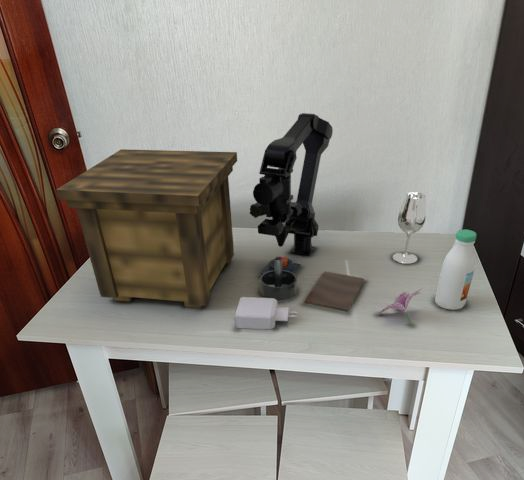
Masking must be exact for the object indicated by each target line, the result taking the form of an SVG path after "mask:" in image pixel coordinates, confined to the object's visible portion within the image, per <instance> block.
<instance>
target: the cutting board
mask: <svg viewBox="0 0 524 480" xmlns="http://www.w3.org/2000/svg"><path fill="white" fill-rule="evenodd" d="M365 280H366V279H365V278H364V277H360V276H353V275H347V274H343V273H338V272H337V273H336V272H330V271H324V272H323V273H322V275H321V277H320V278H319V279H318V281H317V282H316V284H315V285H314V287H312V289H311V291H310V292H309V294H308V295H307V297H306V298H305V299H304V301H303V303H304V304H307V305H312V306H316V307H321V308H327V309H332V310H336V311H342V312H346V313H347V312H348V311H349V309H350V307H351V305H353V304H354V301H355V300H356V298H357V296H358V294H359V292H360V290H361V289H362V287H363V286H364V284H365Z"/></svg>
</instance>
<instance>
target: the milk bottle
mask: <svg viewBox="0 0 524 480" xmlns="http://www.w3.org/2000/svg"><path fill="white" fill-rule="evenodd" d="M454 238H455V239H454V241H455V242H454V244H453V246H452V248H451V249H450V250H449V252H448V253H447V254H446V256H445V258H444V259H443V263H442V266H441V270H440V275H439V278H438V283H437V287H436V293H435V297H434V301H435V304H436V305H437V306H438V307H440V308H442V309H446V310H451V311H455V310H461V309H462V308H463V307H464V306H465V305H466V302H467V298H468V295H469V292H470V288H471V284H472V280H473V276H474V274H475V273H474V272H475V269H476V268H475V267H476V257H475V253H474V244H475V243H476V239H477V233H476V232H475V231H473V230H470V229H459V230H457V232H456V234H455V237H454Z"/></svg>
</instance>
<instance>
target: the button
mask: <svg viewBox="0 0 524 480" xmlns="http://www.w3.org/2000/svg"><path fill="white" fill-rule="evenodd" d="M277 257H281V258H282V267H284V266H287V265H288V259H289V258H288V257H286V256H284V255H280V256H279V255H278V256H277Z"/></svg>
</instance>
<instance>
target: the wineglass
mask: <svg viewBox="0 0 524 480" xmlns="http://www.w3.org/2000/svg"><path fill="white" fill-rule="evenodd" d="M426 217H427V202H426V194H425V193H422V192H418V191H411V192H406V193H405V196H404V198H403V199H402V203H401V206H400V208H399V212H398V217H397V225H398V227H399V228H400V230H401V231H402V232H404V233H406V241H405V242H406V243H405V250H404V251H402V252H395V253H394V254H393V255H392V260H393V261H395V262H396V263H399V264H404V265H409V264H414V263H417V261H418V257H417V256H416V254H413V253H410V252H408V249H409V243H410V238H411V235H412V234H415V233H417V232H418V231H420V230H421V229H422V228H423V227H424V225H425V222H426Z"/></svg>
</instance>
